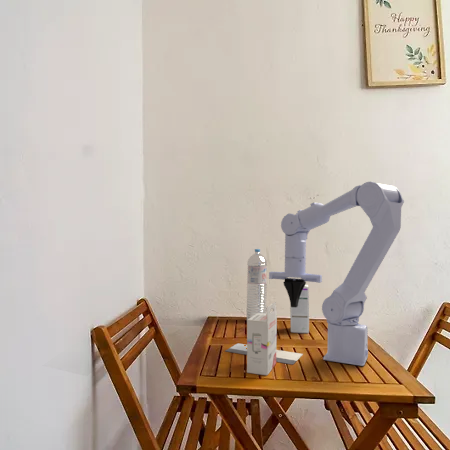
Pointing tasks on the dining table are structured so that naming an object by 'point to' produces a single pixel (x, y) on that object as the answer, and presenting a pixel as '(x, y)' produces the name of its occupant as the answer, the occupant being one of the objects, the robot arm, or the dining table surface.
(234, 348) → the grey-blue label card
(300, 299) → the syrup box
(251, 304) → the water bottle
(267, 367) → the ink cartridge box
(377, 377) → the dining table surface
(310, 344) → the dining table surface
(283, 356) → the cream label card
